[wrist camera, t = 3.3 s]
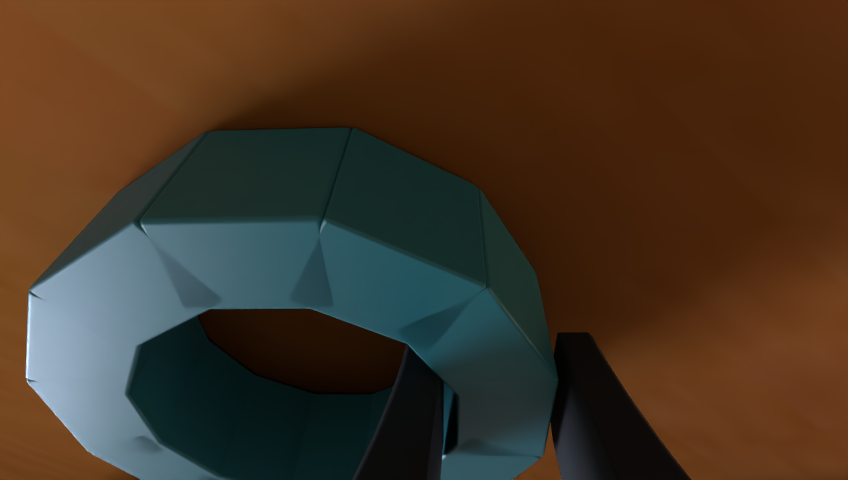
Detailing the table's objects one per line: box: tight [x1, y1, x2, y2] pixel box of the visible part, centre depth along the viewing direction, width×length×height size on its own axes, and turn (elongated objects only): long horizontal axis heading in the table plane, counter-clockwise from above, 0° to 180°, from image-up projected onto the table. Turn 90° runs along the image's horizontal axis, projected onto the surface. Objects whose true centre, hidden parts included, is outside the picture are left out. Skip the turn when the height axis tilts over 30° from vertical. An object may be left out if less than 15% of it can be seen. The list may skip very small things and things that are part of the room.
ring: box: [26, 127, 559, 480], centre depth 11 cm, size 10×10×3 cm
